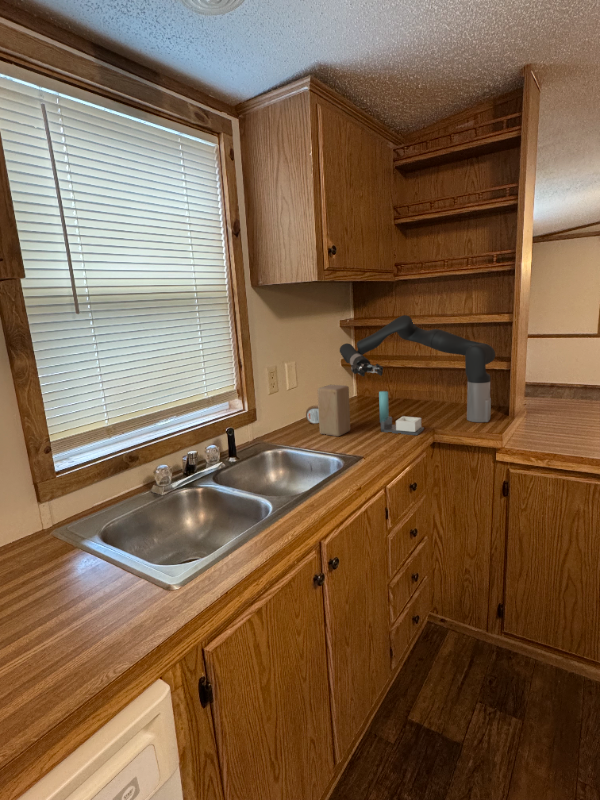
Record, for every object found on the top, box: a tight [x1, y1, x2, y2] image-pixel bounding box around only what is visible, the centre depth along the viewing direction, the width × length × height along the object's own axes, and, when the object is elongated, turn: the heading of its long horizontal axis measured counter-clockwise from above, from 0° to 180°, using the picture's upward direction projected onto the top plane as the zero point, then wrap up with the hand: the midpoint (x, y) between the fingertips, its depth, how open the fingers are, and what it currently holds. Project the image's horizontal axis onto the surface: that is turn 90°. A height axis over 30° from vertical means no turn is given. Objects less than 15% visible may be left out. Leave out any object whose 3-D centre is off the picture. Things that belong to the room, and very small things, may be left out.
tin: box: [305, 405, 319, 425], centre depth 208 cm, size 15×3×8 cm, turn 84°
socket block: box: [395, 415, 422, 432], centre depth 187 cm, size 8×8×4 cm
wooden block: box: [317, 384, 351, 437], centre depth 190 cm, size 10×10×20 cm
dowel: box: [378, 390, 390, 424], centre depth 202 cm, size 4×4×14 cm
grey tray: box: [380, 416, 425, 436], centre depth 188 cm, size 16×9×4 cm, turn 58°
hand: (372, 374), depth 205 cm, fingers open, 8 cm apart
